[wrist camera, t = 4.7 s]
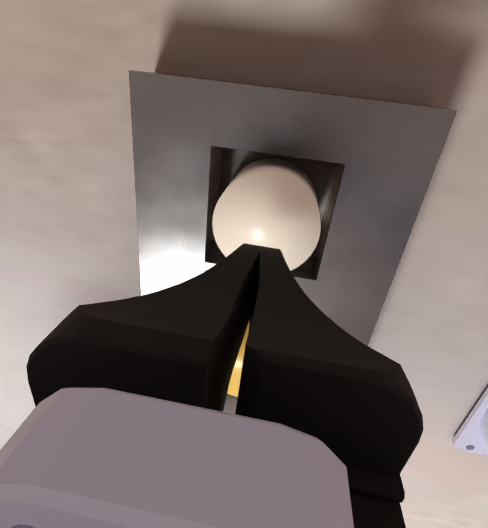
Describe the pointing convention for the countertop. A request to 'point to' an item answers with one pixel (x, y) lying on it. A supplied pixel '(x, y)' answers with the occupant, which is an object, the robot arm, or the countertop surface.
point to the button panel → (286, 144)
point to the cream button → (269, 211)
